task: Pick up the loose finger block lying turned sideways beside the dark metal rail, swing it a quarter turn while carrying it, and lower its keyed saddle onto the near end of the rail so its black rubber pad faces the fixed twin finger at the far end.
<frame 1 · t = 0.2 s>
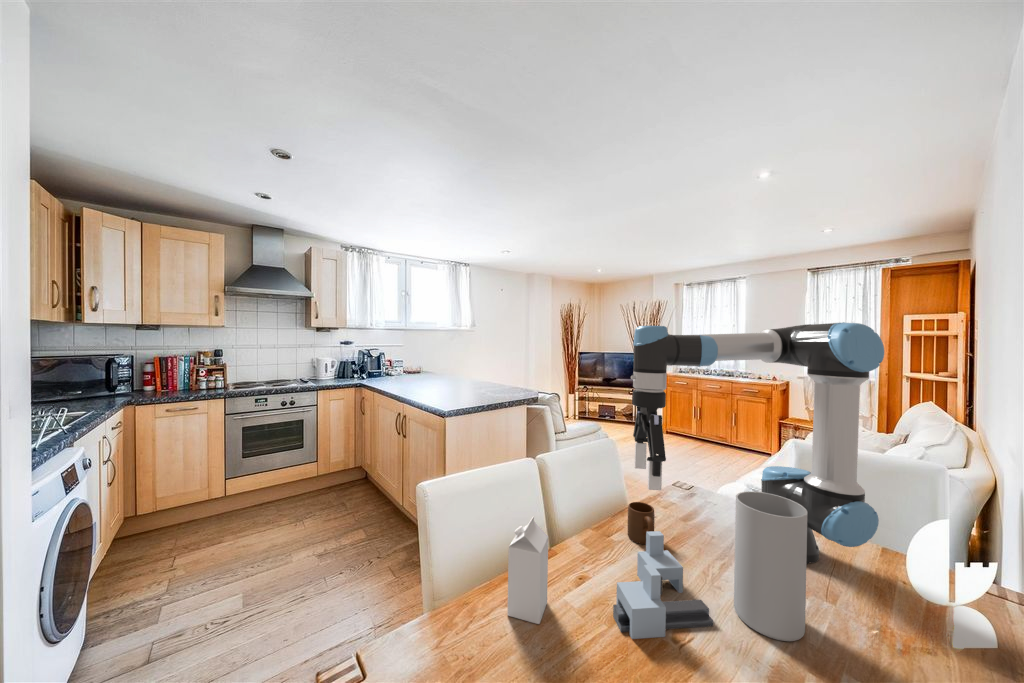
hand: (646, 478, 88), 26 cm above the table, fingers open, 13 cm apart
finger b: (661, 583, 90), on the table
mug: (643, 542, 108), on the table
cylinder vase: (767, 620, 78), on the table
rail: (660, 618, 78), on the table
milk carton: (527, 610, 80), on the table
finger a: (638, 620, 78), on the table
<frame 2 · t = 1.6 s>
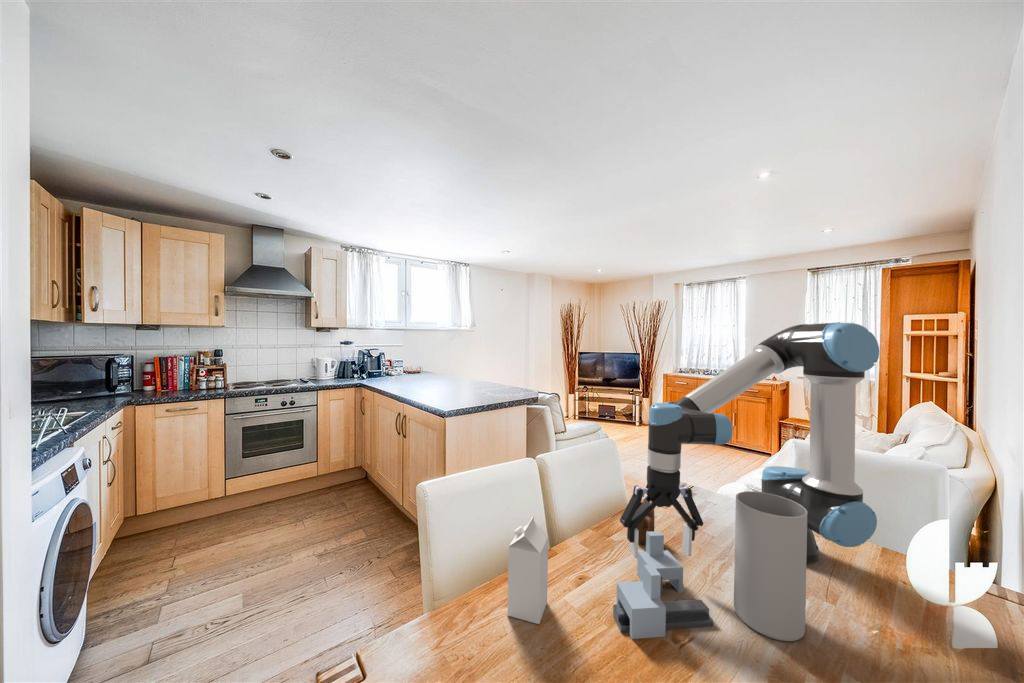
hand: (660, 553, 90), 7 cm above the table, fingers open, 13 cm apart
nothing on the table moved.
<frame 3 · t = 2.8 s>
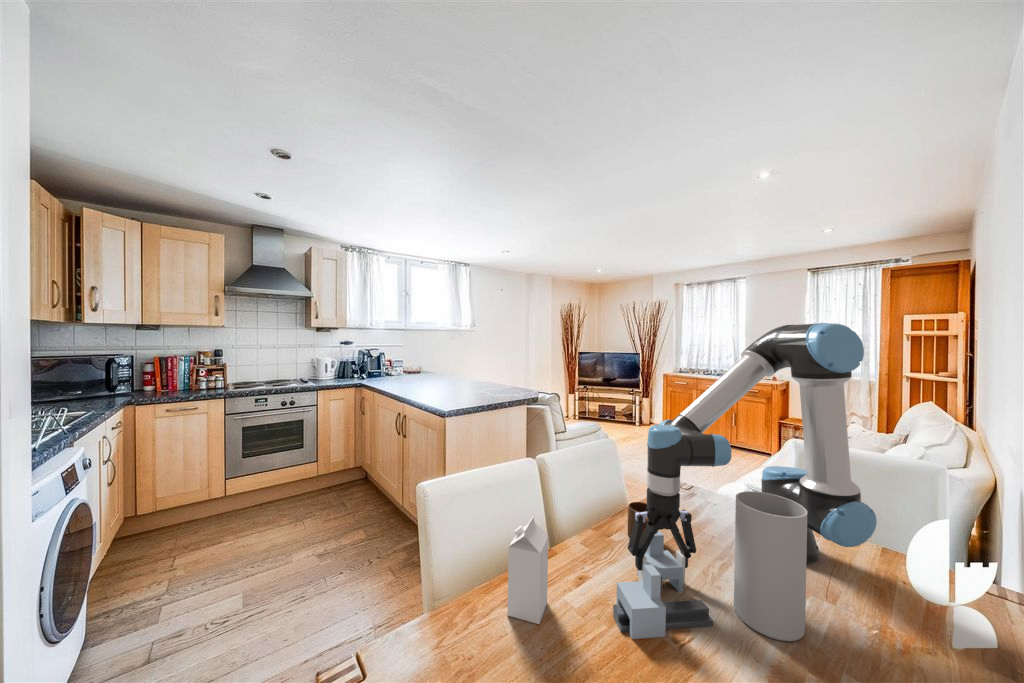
hand: (661, 581, 90), 1 cm above the table, fingers open, 9 cm apart
finger b: (661, 583, 90), on the table, touching gripper
everything else where it was.
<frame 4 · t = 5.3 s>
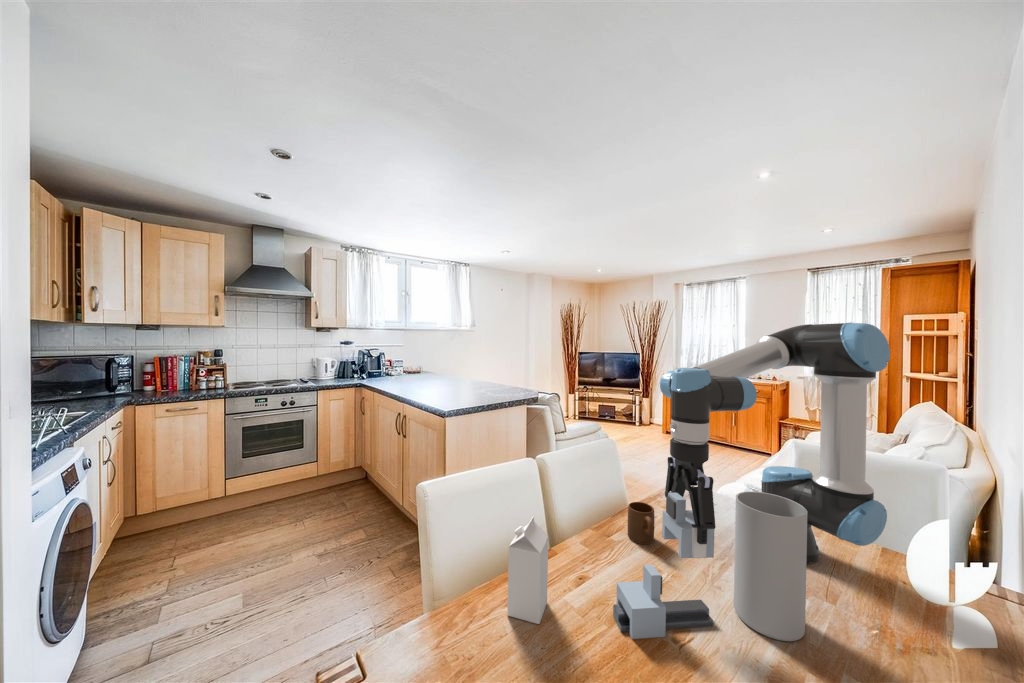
hand: (686, 544, 79), 15 cm above the table, fingers closed on finger b, 8 cm apart
finger b: (685, 545, 80), point 15 cm above the table, touching gripper
everything else where it was.
when the fingers open (2 cm above the table, at t = 7.5 s): finger b drops 2 cm, on the table.
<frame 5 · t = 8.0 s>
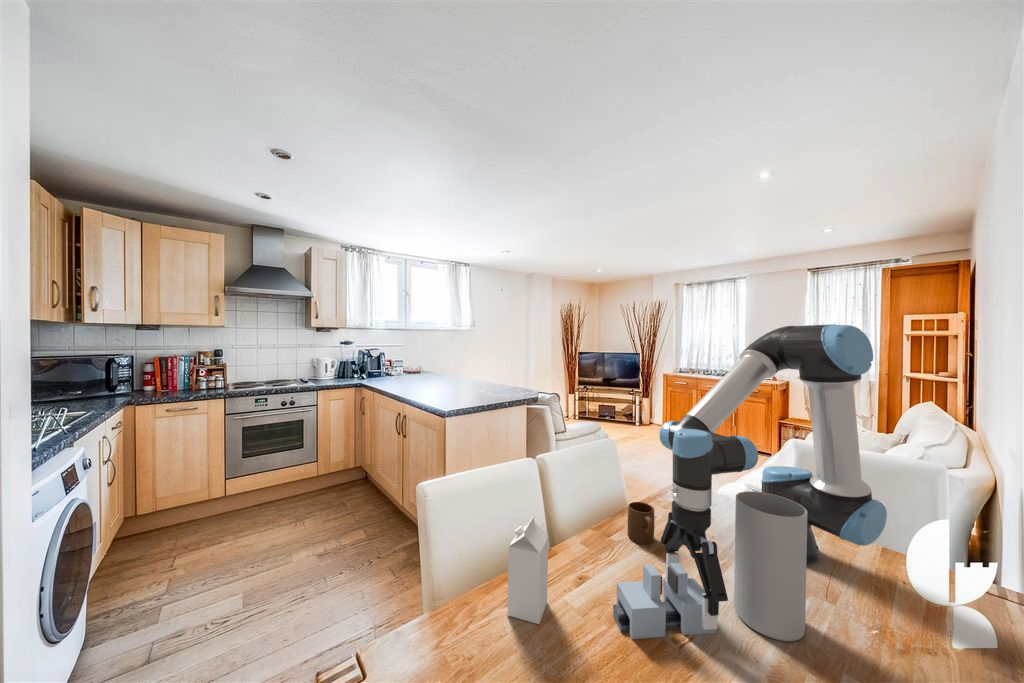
hand: (689, 602, 78), 4 cm above the table, fingers open, 13 cm apart
finger b: (686, 616, 79), on the table
everything else where it was.
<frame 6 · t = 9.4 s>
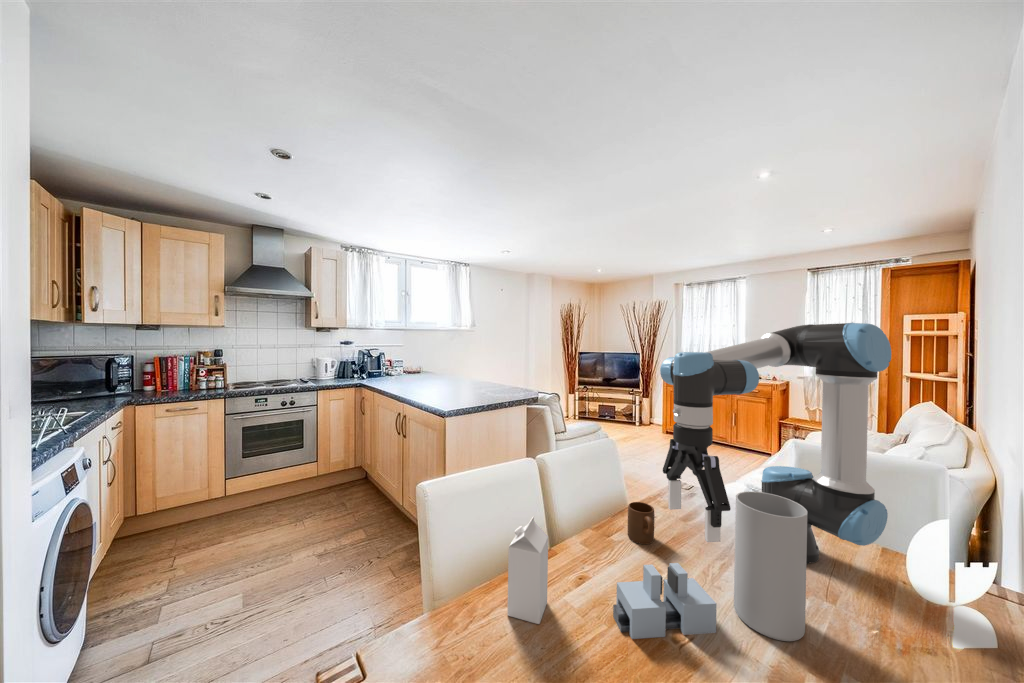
hand: (692, 523, 78), 20 cm above the table, fingers open, 13 cm apart
nothing on the table moved.
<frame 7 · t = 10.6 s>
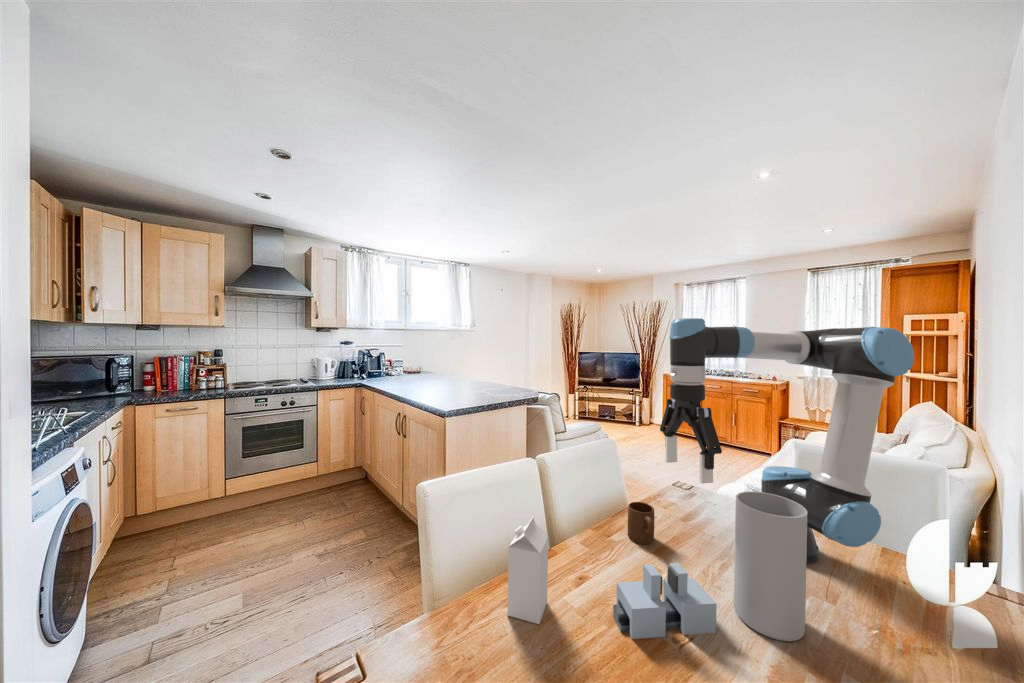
hand: (687, 471, 88), 28 cm above the table, fingers open, 13 cm apart
nothing on the table moved.
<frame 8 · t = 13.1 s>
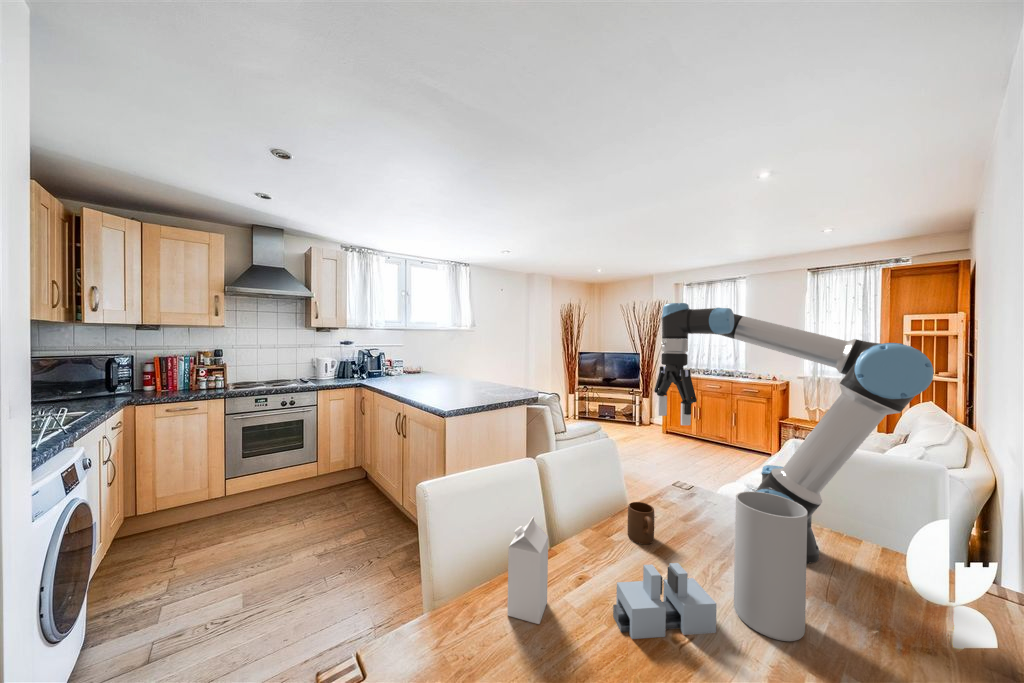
hand: (673, 420, 115), 35 cm above the table, fingers open, 13 cm apart
nothing on the table moved.
at the end: finger b 0.2 cm from the target spot on the rail, point 0.0 cm above the rail's base; finger b tilted 0°; the gripper is holding nothing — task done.
